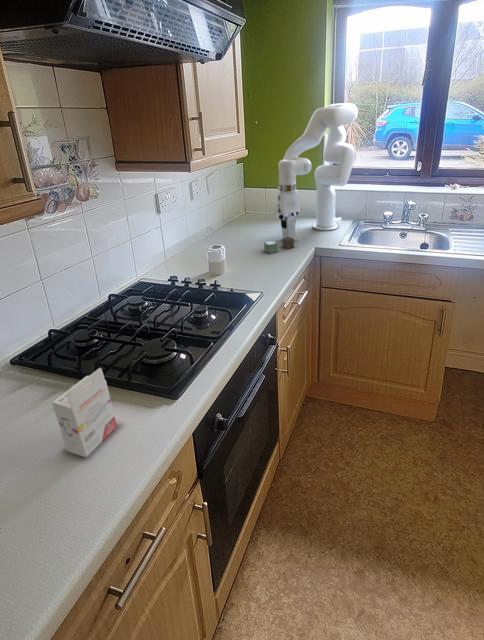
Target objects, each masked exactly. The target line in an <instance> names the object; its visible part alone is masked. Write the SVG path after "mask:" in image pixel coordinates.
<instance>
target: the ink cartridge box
mask: <svg viewBox="0 0 484 640" xmlns="http://www.w3.org/2000/svg"><path fill="white" fill-rule="evenodd" d="M52 406H53V407H52V408H53V410H54V412H55V416H56V419H57V423H58V427H59V429H60V433H61V436H62V438H63V442H64V445H65V448H66V451H67V453H71V454H74V455H77V456H80V457H83V458H88V456H90V455H91V454H92V452H94V451H95V449H97V447H98V446H99V445H100V444H102V443H103V441H105V440H106V439H107V438H108V436H109V435H110V434H111V433H112V432H113V431H114V430H115V429H116V428H117V427H118V424H117V421H116V417H115V413H114V408H113V403H112V399H111V396H110V391H109V388H108V384H107V380H106V379H105V375H104V372H103V369H102V367H99V368H97V369H96V370H95V371H93V372H92V373H91V374H89V375H86V376H84V377H83V378H82V379H81V380H79V381H78V382H77V383H76V384H74V385H73V386H71V387H70V388H69V389H67V390H66V391H65V392H64V393H62V394H61V395H59V396H58V397H57V398H55V399H54V400H53V401H52Z"/></svg>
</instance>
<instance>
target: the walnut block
mask: <svg viewBox="0 0 484 640" xmlns="http://www.w3.org/2000/svg"><path fill="white" fill-rule="evenodd" d="M281 247H282V248H283V249H286V250H290V249H294V248H295V241H294V239H293V238H291V237H286V238H281Z"/></svg>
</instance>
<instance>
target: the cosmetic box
mask: <svg viewBox="0 0 484 640" xmlns="http://www.w3.org/2000/svg"><path fill="white" fill-rule="evenodd" d="M285 220H286V229H284V228H282V227H281V237H282V238H286V237H291V238H293V239H294V242H296V240H297V238H296V237H297V236H296V224H295V221H296V218H295V216H292V215H291V213H290V214H286V217H285ZM282 238H281V239H282Z"/></svg>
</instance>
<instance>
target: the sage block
mask: <svg viewBox="0 0 484 640" xmlns="http://www.w3.org/2000/svg"><path fill="white" fill-rule="evenodd" d="M263 244H264V245H263V250H264V252H265V253H267V254H269V255H270V254H274V253H278V244H277V242H275V241H273V240H269V241H265V242H263Z"/></svg>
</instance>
